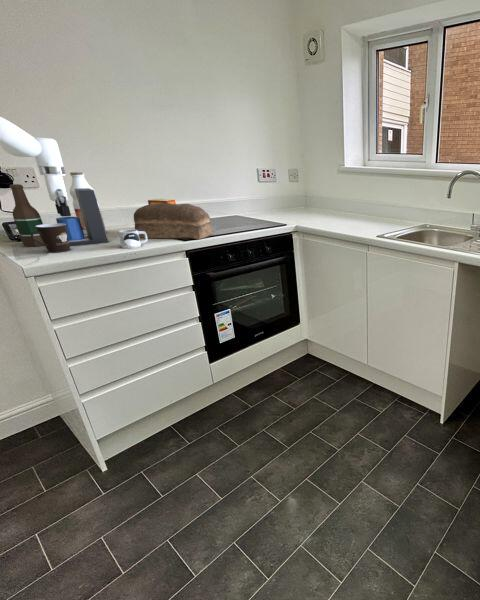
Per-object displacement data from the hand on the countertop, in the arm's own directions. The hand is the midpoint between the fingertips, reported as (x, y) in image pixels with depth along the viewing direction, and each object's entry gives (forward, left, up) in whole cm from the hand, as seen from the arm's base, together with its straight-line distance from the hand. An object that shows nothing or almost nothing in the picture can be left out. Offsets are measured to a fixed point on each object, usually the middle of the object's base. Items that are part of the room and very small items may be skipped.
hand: (64, 214), depth 146 cm
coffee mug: (-7, -13, -12) cm, 19 cm away
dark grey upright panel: (+3, 0, -12) cm, 12 cm away
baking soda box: (+38, +8, -12) cm, 41 cm away
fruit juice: (+10, +21, -12) cm, 26 cm away
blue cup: (+1, 0, -10) cm, 10 cm away
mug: (+18, -21, -12) cm, 30 cm away
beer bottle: (-11, +4, -12) cm, 17 cm away
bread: (+37, -9, -12) cm, 40 cm away
